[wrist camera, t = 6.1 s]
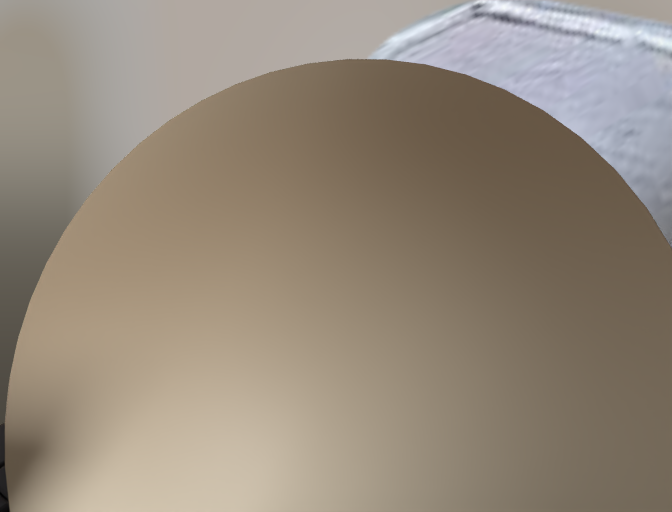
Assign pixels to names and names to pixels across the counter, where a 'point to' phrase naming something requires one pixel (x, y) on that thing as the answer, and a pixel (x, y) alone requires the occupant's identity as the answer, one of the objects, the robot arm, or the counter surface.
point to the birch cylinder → (350, 313)
